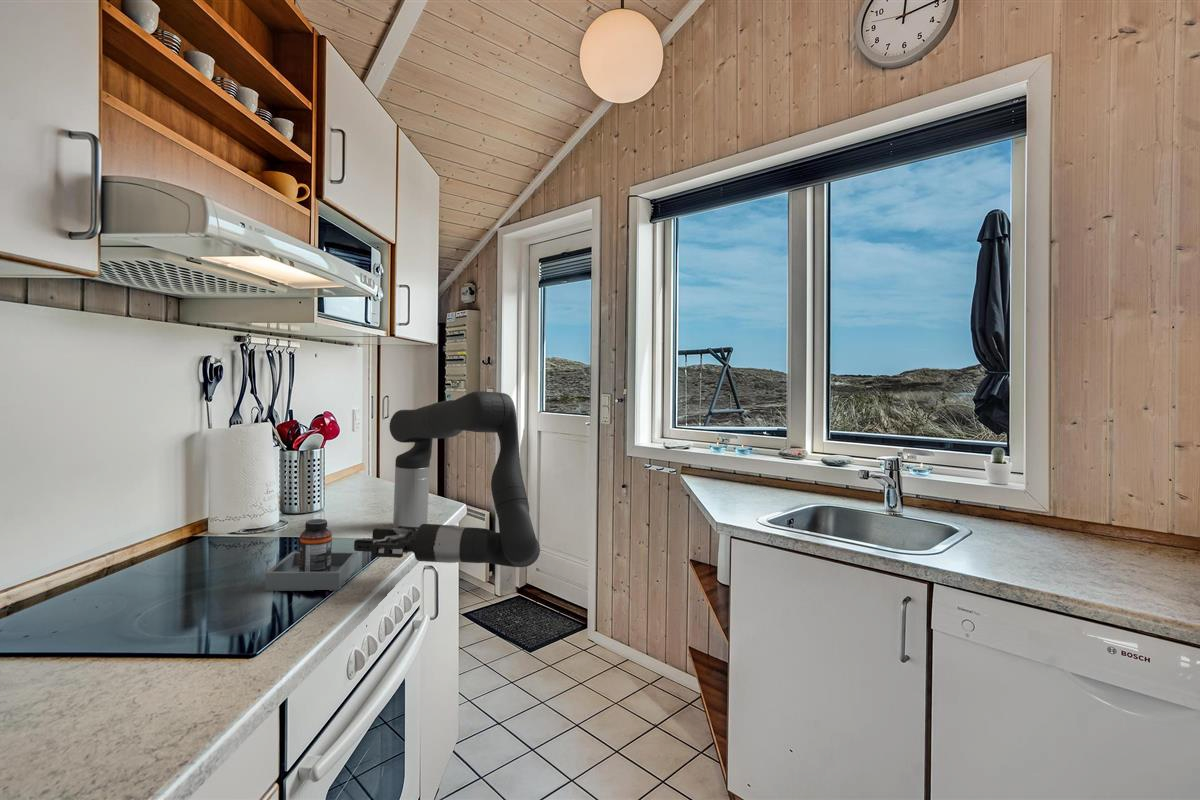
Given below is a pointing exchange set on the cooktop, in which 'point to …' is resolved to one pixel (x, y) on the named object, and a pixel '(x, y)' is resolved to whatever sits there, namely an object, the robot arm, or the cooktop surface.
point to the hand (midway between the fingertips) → (364, 539)
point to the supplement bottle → (315, 547)
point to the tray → (310, 574)
